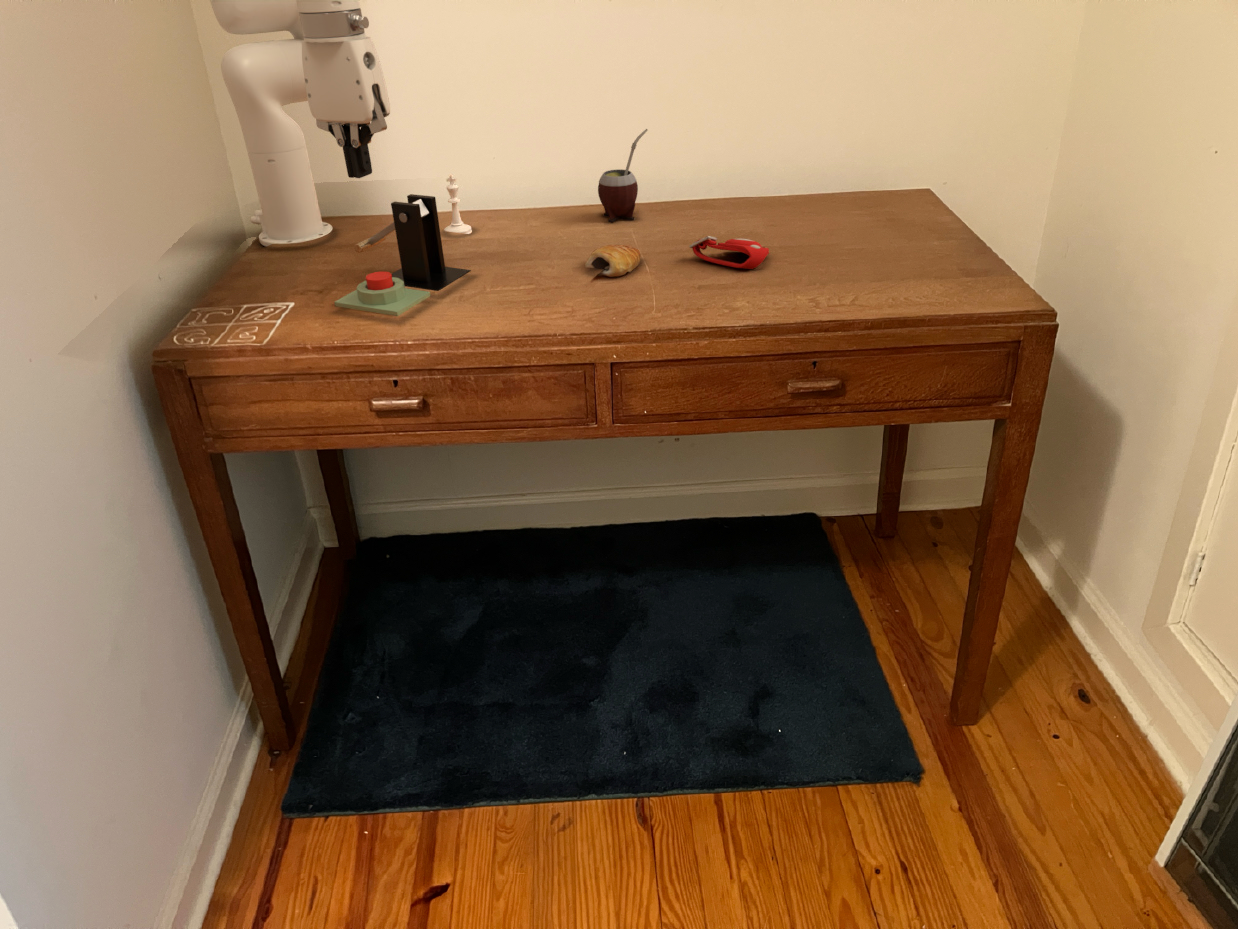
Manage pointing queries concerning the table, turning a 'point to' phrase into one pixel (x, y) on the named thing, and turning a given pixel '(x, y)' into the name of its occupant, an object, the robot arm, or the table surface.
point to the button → (379, 281)
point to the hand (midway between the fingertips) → (360, 175)
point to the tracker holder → (740, 245)
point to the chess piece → (455, 210)
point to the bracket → (421, 246)
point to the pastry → (614, 259)
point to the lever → (385, 231)
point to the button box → (383, 298)
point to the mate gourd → (619, 190)
